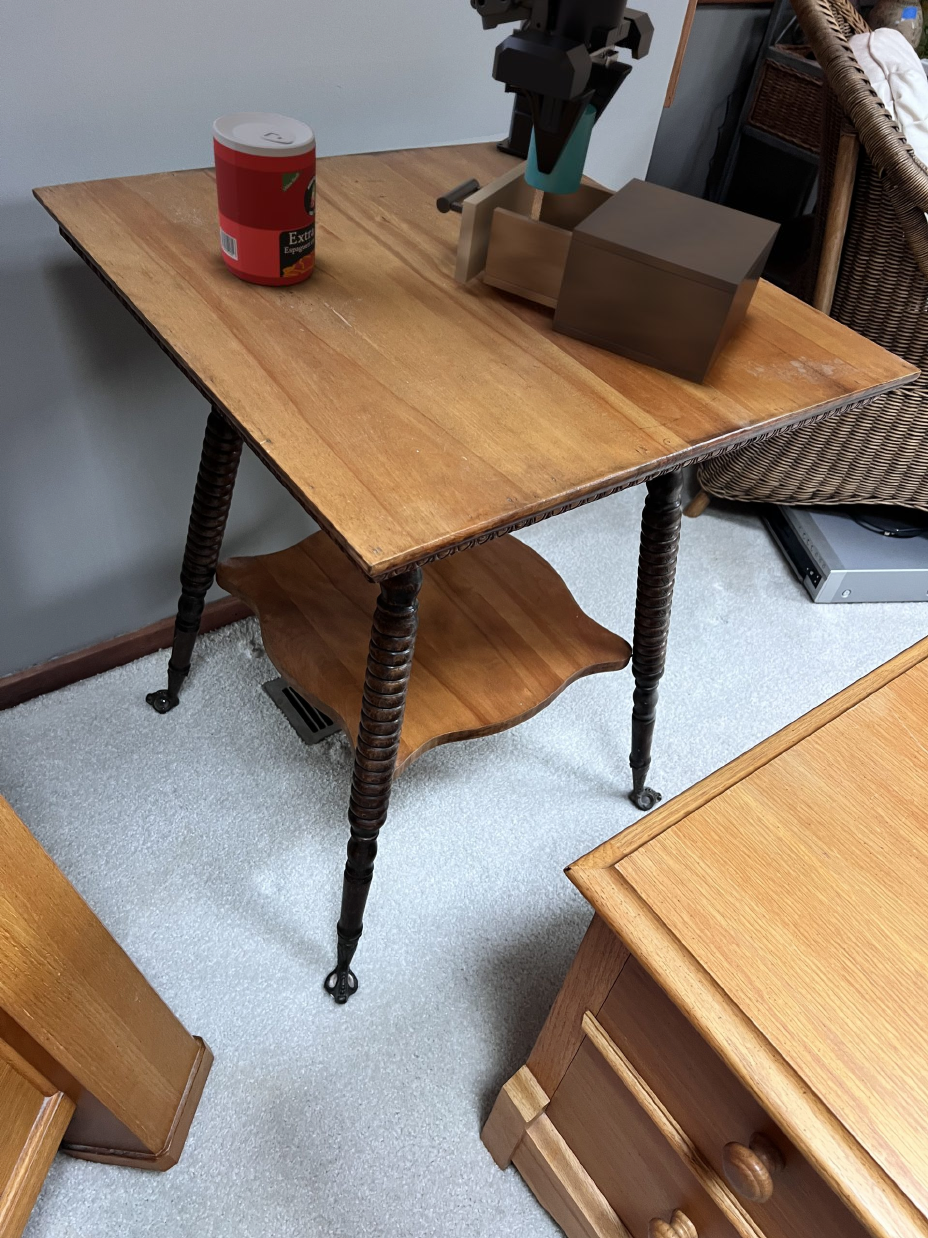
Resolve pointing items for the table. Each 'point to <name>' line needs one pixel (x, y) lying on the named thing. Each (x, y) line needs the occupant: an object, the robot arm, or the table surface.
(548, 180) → the teal bottle
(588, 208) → the drawer
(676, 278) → the cabinet
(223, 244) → the canned food
